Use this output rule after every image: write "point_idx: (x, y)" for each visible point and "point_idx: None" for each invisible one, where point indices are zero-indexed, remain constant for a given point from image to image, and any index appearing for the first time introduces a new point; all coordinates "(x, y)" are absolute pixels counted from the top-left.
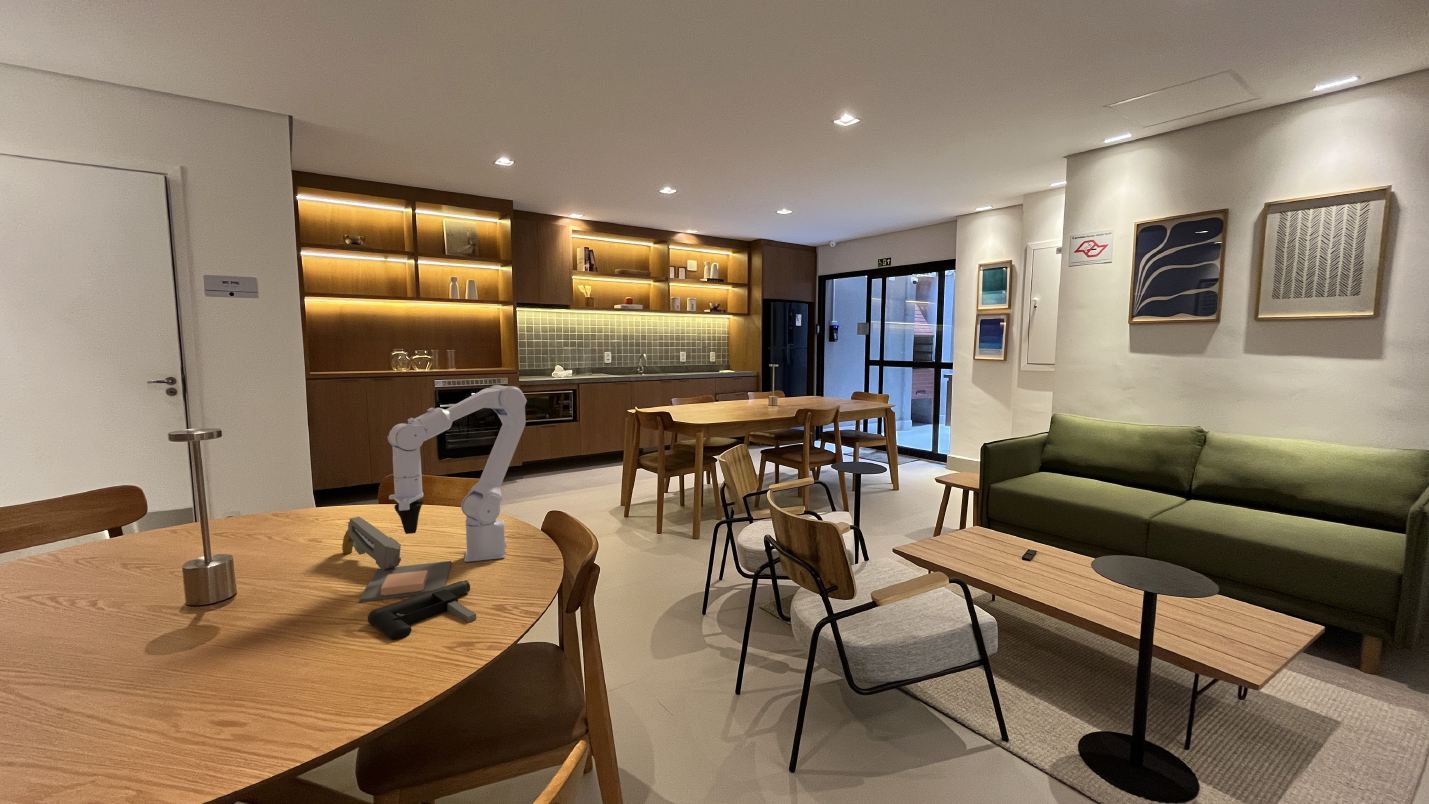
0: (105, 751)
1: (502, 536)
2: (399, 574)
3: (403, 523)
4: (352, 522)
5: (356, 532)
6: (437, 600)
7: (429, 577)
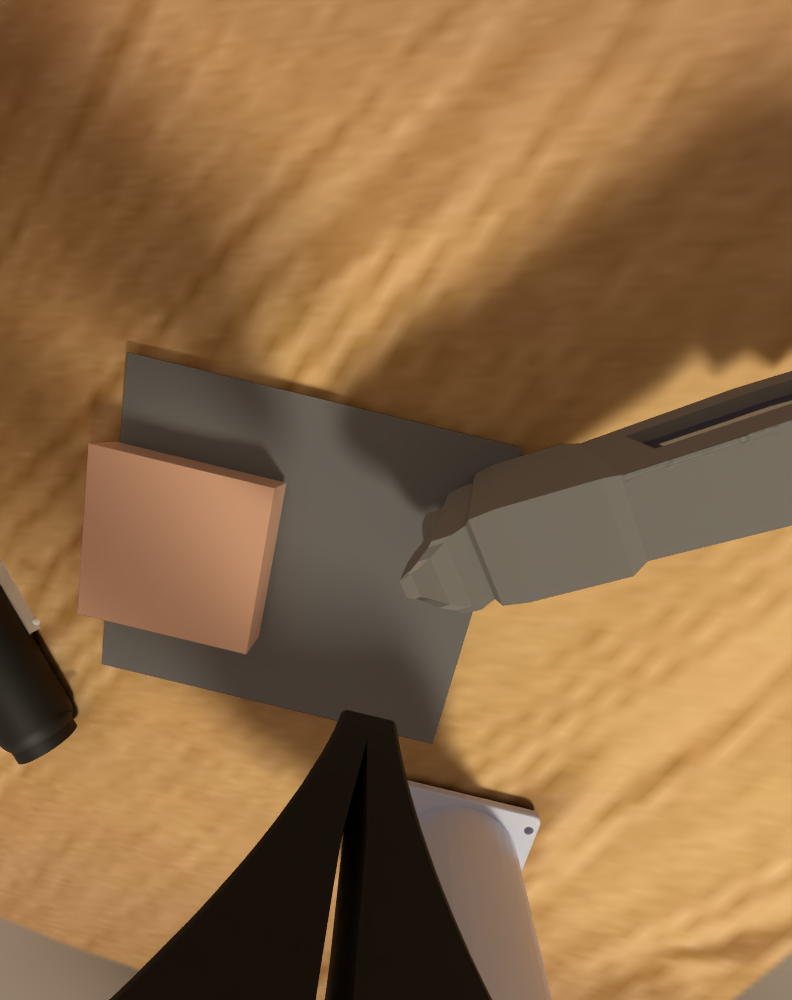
0: None
1: None
2: (247, 537)
3: (296, 802)
4: None
5: None
6: None
7: (261, 638)
